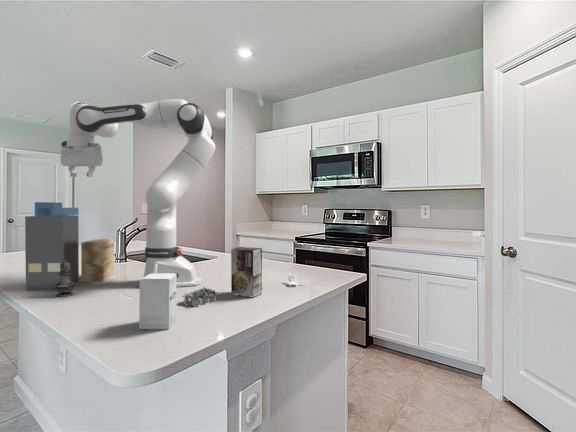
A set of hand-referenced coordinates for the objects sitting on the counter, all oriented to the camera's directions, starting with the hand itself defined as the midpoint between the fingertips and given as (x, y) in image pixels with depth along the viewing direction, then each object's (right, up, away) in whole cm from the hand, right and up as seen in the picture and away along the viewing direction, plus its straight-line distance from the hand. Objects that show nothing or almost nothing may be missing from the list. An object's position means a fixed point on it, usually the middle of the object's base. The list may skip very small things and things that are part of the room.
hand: (81, 177), depth 137 cm
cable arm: (-1, -16, -11) cm, 20 cm away
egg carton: (+59, -44, -33) cm, 80 cm away
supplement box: (+53, -45, -53) cm, 87 cm away
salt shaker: (+12, -43, -27) cm, 52 cm away
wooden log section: (+8, -42, -2) cm, 43 cm away
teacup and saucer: (+86, -44, -8) cm, 97 cm away
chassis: (-1, -42, -15) cm, 45 cm away
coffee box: (+72, -44, -23) cm, 88 cm away
